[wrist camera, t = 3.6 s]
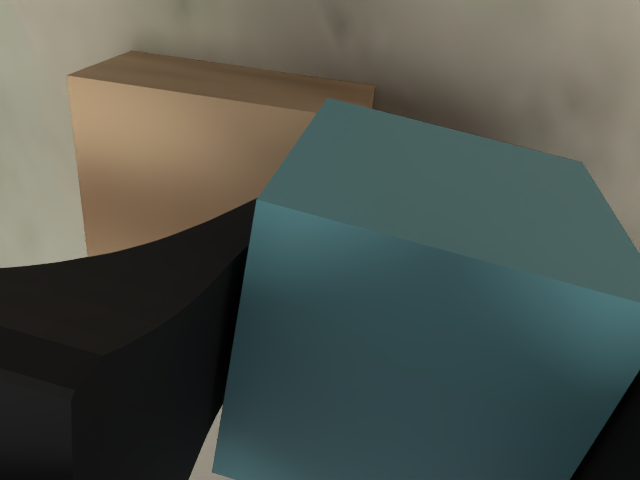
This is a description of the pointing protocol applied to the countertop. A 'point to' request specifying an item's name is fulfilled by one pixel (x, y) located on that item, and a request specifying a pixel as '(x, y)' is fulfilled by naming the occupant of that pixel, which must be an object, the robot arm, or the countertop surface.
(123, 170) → the oak block
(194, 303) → the robot arm
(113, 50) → the countertop surface
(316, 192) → the teal block
